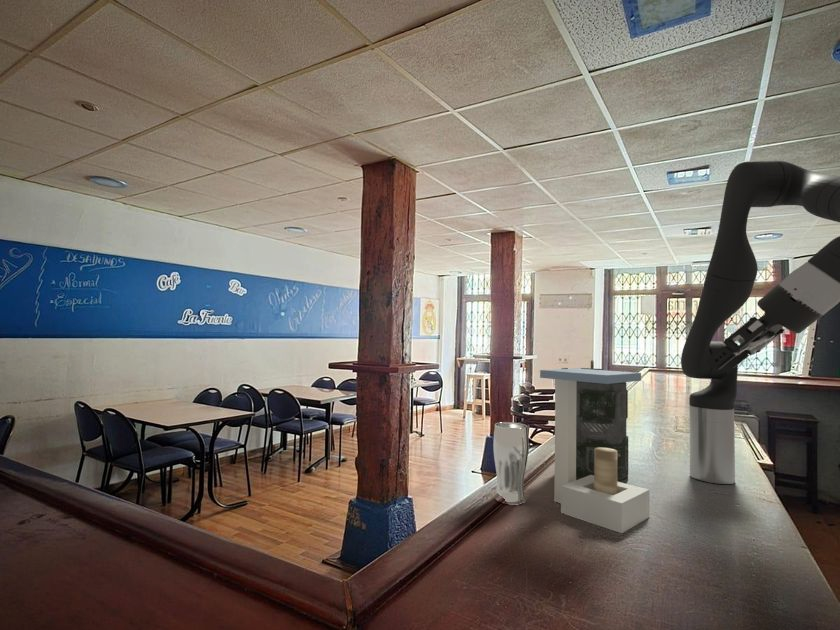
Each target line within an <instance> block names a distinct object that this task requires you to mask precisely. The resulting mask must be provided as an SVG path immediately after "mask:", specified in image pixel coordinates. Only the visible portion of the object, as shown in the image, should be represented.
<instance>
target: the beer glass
mask: <svg viewBox="0 0 840 630" xmlns="http://www.w3.org/2000/svg"><path fill="white" fill-rule="evenodd" d="M492 443H493V446H492V447H493V448H492V449H493V458H494V459H493V460H494V465H495V471H496V490H495V493H496V492H497V493H498V494H499V495H500V496H502V497H503V498H504V499H505V501H506V502H507V503H510V504H520V503H523V502H525V503H526V495H525V494H526V493H525V485H524V484H525V483H524V481H525V474H526V470H527V464H528V457H529V430H528V425H526V424H524V423H521V422H520V423H519V422H513V421H511V422H509V421H502V422H501V421H500V422H496V423H494V431H493V442H492Z"/></svg>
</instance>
